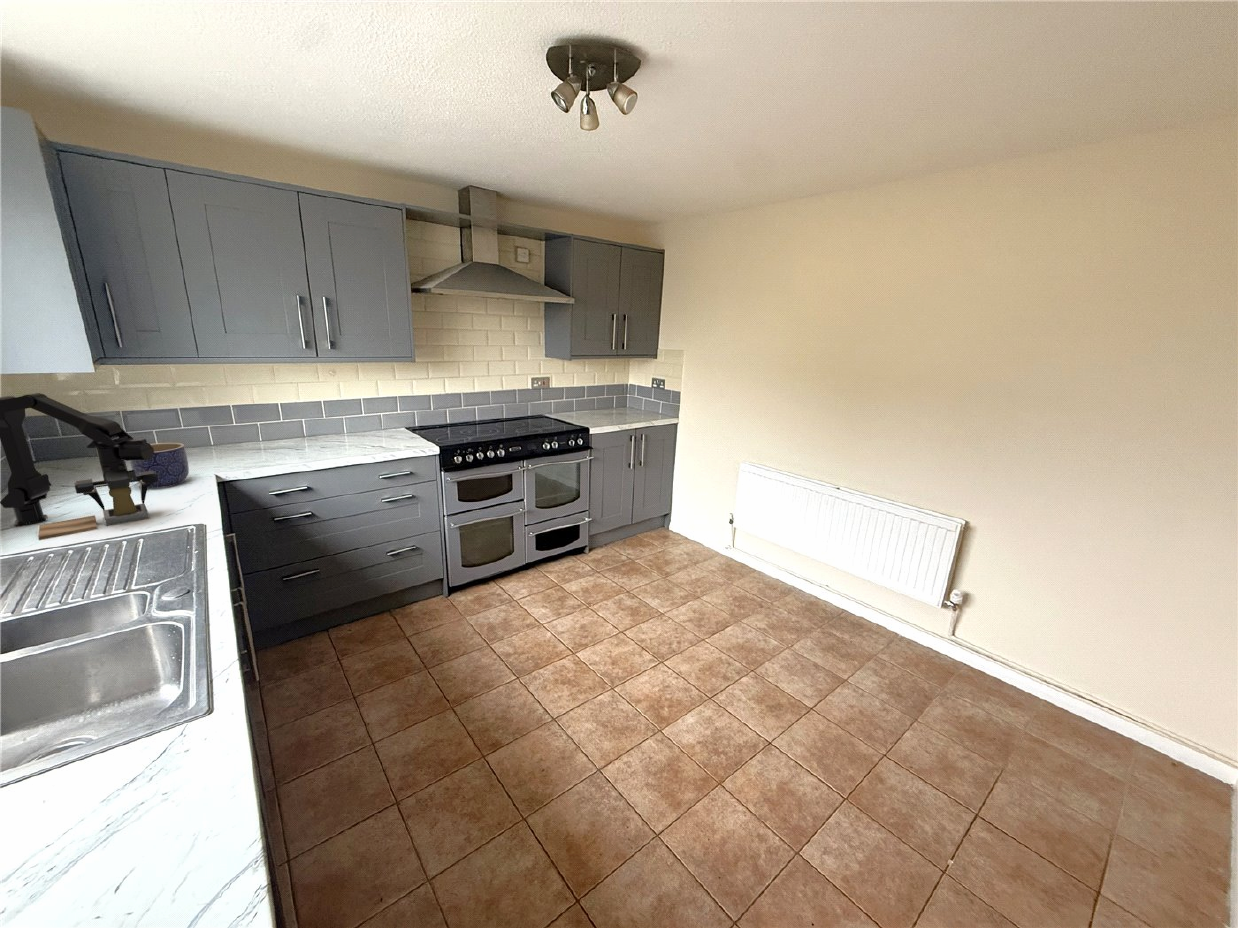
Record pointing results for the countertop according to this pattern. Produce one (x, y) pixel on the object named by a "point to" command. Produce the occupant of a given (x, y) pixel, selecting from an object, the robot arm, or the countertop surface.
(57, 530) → the walnut board
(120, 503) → the cork
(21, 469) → the robot arm
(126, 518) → the steel collar
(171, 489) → the countertop surface
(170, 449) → the planter
